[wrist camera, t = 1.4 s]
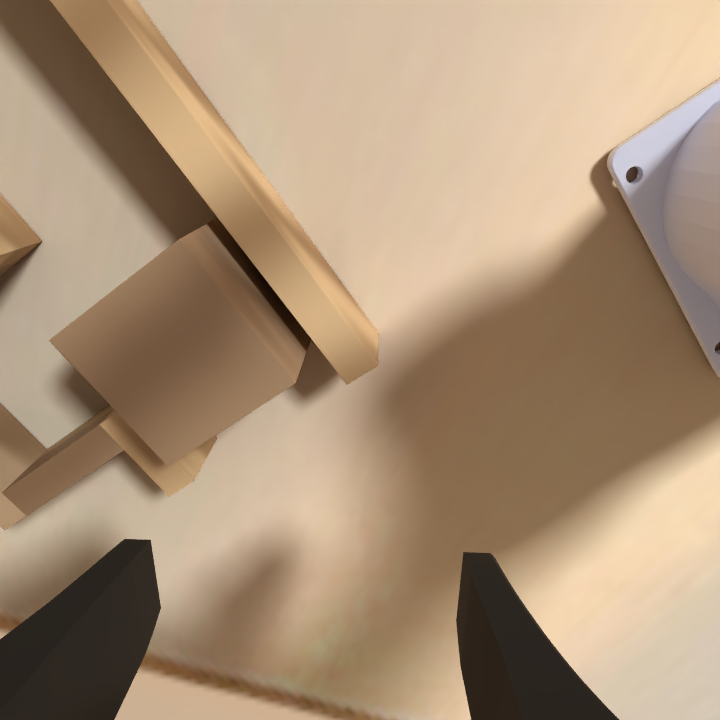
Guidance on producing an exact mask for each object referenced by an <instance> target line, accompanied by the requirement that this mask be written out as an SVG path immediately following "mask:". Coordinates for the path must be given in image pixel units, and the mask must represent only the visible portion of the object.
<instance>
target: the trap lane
mask: <svg viewBox="0 0 720 720" xmlns="http://www.w3.org/2000/svg"><path fill="white" fill-rule="evenodd" d="M50 1H51V2H52V4H53V5H54V6H55V8H56V9H57V10H58V11H59V13H60V14H61V15H62V17H63V18H64V19H65V21H66V22H67V23H68V24H69V26H70V27H71V28H72V30H73V31H74V32H75V33H76V35H77V36H78V37H79V39H80V40H81V41H82V43H83V44H84V45H85V46H86V48H87V49H88V50H89V52H90V53H91V54H92V55H93V57H94V58H95V59H96V61H97V62H98V63H99V65H100V66H101V67H102V68H103V70H104V71H105V72H106V74H107V75H108V76H109V77H110V79H111V80H112V81H113V83H114V84H115V85H116V87H117V88H118V89H119V90H120V92H121V93H122V94H123V96H124V97H125V98H126V99H127V101H128V102H129V103H130V105H131V106H132V107H133V109H134V110H135V111H136V112H137V114H138V115H139V116H140V118H141V119H142V120H143V121H144V123H145V124H146V125H147V127H148V128H149V129H150V131H151V132H152V133H153V134H154V136H155V137H156V138H157V140H158V141H159V142H160V143H161V145H162V146H163V147H164V149H165V150H166V151H167V153H168V154H169V155H170V156H171V158H172V159H173V160H174V162H175V163H176V164H177V165H178V167H179V168H180V169H181V171H182V172H183V173H184V175H185V176H186V177H187V178H188V180H189V181H190V182H191V184H192V185H193V186H194V187H195V189H196V190H197V191H198V193H199V194H200V195H201V197H202V198H203V199H204V200H205V202H206V203H207V204H208V206H209V207H210V208H211V209H212V211H213V212H214V213H215V215H216V216H217V217H218V219H219V220H220V221H221V222H222V224H223V225H224V226H225V228H226V229H227V230H228V231H229V233H230V234H231V235H232V237H233V238H234V239H235V241H236V242H237V243H238V244H239V246H240V247H241V248H242V250H243V251H244V252H245V253H246V255H247V256H248V257H249V259H250V260H251V261H252V263H253V264H254V265H255V266H256V268H257V269H258V270H259V272H260V273H261V274H262V275H263V277H264V278H265V279H266V281H267V282H268V283H269V285H270V286H271V287H272V288H273V290H274V291H275V292H276V294H277V295H278V296H279V297H280V299H281V300H282V301H283V303H284V304H285V305H286V307H287V308H288V309H289V310H290V312H291V313H292V314H293V316H294V317H295V318H296V319H297V321H298V322H299V323H300V325H301V326H302V327H303V329H304V330H305V331H306V332H307V334H308V335H309V336H310V338H311V339H312V340H313V341H314V343H315V344H316V345H317V347H318V348H319V349H320V351H321V352H322V353H323V354H324V356H325V357H326V358H327V360H328V361H329V362H330V363H331V365H332V366H333V367H334V369H335V370H336V371H337V373H338V374H339V375H340V376H341V378H342V379H343V380H344V382H345V383H346V384H349V383H351V382H352V381H354V380H355V379H357V378H359V377H360V376H362V375H363V374H365V373H367V372H368V371H370V370H371V369H373V368H375V367H376V366H378V344H379V333H378V332H377V330H376V329H375V328H374V326H373V325H372V324H371V322H370V321H369V319H368V318H367V317H366V315H365V314H364V313H363V311H362V310H361V308H360V307H359V306H358V304H357V303H356V302H355V300H354V299H353V297H352V296H351V295H350V293H349V292H348V291H347V289H346V288H345V286H344V285H343V284H342V282H341V281H340V280H339V278H338V277H337V275H336V274H335V273H334V271H333V270H332V269H331V267H330V266H329V264H328V263H327V262H326V260H325V259H324V258H323V256H322V255H321V253H320V252H319V251H318V249H317V248H316V247H315V245H314V244H313V242H312V241H311V240H310V238H309V237H308V236H307V234H306V233H305V231H304V230H303V229H302V227H301V226H300V225H299V223H298V222H297V220H296V219H295V218H294V216H293V215H292V214H291V212H290V211H289V209H288V208H287V207H286V205H285V204H284V203H283V201H282V200H281V198H280V197H279V196H278V194H277V193H276V192H275V190H274V189H273V187H272V186H271V185H270V183H269V182H268V181H267V179H266V178H265V176H264V175H263V174H262V172H261V171H260V170H259V168H258V167H257V165H256V164H255V163H254V161H253V160H252V159H251V157H250V156H249V154H248V153H247V152H246V150H245V149H244V147H243V146H242V145H241V143H240V142H239V141H238V139H237V138H236V136H235V135H234V134H233V132H232V131H231V130H230V128H229V127H228V125H227V124H226V123H225V121H224V120H223V119H222V117H221V116H220V114H219V113H218V112H217V110H216V109H215V108H214V106H213V105H212V103H211V102H210V101H209V99H208V98H207V97H206V95H205V94H204V92H203V91H202V90H201V88H200V87H199V86H198V84H197V83H196V81H195V80H194V79H193V77H192V76H191V75H190V73H189V72H188V70H187V69H186V68H185V66H184V65H183V64H182V62H181V61H180V59H179V58H178V57H177V55H176V54H175V53H174V51H173V50H172V48H171V47H170V46H169V44H168V43H167V42H166V40H165V39H164V37H163V36H162V35H161V33H160V32H159V31H158V29H157V28H156V26H155V25H154V24H153V22H152V21H151V20H150V18H149V17H148V15H147V14H146V13H145V11H144V10H143V9H142V7H141V6H140V4H139V3H138V2H137V0H50ZM41 242H42V240H41V239H40V238H39V237H38V236H37V235H36V233H35V232H34V231H33V230H32V229H31V228H30V227H29V226H28V224H27V223H26V222H25V221H24V220H23V219H22V218H21V217H20V215H19V214H18V213H17V212H16V211H15V210H14V209H13V208H12V206H11V205H10V204H9V203H8V202H7V201H6V200H5V199H4V197H3V196H2V195H1V194H0V276H1V275H3V274H4V273H5V272H6V271H7V270H9V269H10V268H11V267H12V266H13V265H15V264H16V263H17V262H18V261H19V260H20V259H22V258H23V257H24V256H25V255H26V254H28V253H29V252H30V251H31V250H32V249H33V248H35V247H36V246H37V245H38V244H39V243H41ZM216 439H217V437H216V436H214V437H212V438H210V439H209V440H207V441H206V442H204V443H203V444H201V445H200V446H198V447H197V448H195V449H194V450H192V451H190V452H189V453H187V454H186V455H184V456H183V457H181V458H180V459H178V460H177V461H175V462H173V463H172V464H170V465H169V466H167V465H166V464H165V463H164V462H163V461H162V460H161V459H160V458H159V456H158V455H157V454H156V453H155V452H154V451H153V450H152V449H151V448H150V447H149V446H148V445H147V444H146V443H145V442H144V441H143V440H142V438H141V437H140V436H139V435H138V434H137V433H136V432H135V431H134V430H133V429H132V428H131V427H130V426H129V425H128V424H127V423H126V422H125V420H124V419H123V418H122V417H121V416H120V415H119V414H118V413H117V412H116V411H115V410H114V409H113V408H112V407H111V406H110V405H109V406H108V407H106V408H105V409H104V410H102V411H101V412H99V413H98V414H97V415H95V416H94V417H92V418H91V419H89V420H88V421H87V422H85V423H84V424H82V425H81V426H80V427H78V428H77V429H75V430H74V431H73V432H71V433H70V434H68V435H67V436H65V437H64V438H63V439H61V440H60V441H58V442H57V443H56V444H54V445H53V446H51V447H50V448H49V449H46V448H45V447H44V446H43V445H42V444H41V443H40V442H39V441H38V440H37V439H36V438H35V437H34V436H33V435H32V434H31V433H30V432H29V431H28V430H27V429H26V428H25V427H24V426H23V425H22V424H21V423H20V422H19V421H18V420H17V419H16V418H15V417H14V416H13V415H12V414H11V413H10V412H9V411H8V410H7V409H6V408H5V407H4V406H3V405H2V404H1V403H0V527H1V528H2V529H3V530H6V529H8V528H9V527H11V526H12V525H14V524H15V523H17V522H18V521H20V520H21V519H23V518H24V517H26V516H27V515H28V514H30V513H31V512H33V511H34V510H36V509H37V508H39V507H40V506H42V505H43V504H45V503H46V502H48V501H49V500H51V499H52V498H54V497H55V496H57V495H58V494H60V493H61V492H63V491H64V490H66V489H67V488H69V487H70V486H72V485H73V484H74V483H76V482H77V481H79V480H80V479H82V478H83V477H85V476H86V475H88V474H89V473H91V472H92V471H94V470H95V469H97V468H98V467H100V466H101V465H103V464H104V463H106V462H107V461H109V460H110V459H112V458H113V457H115V456H116V455H117V454H119V453H120V452H122V451H123V450H124V451H125V452H126V453H127V454H128V455H129V456H130V457H131V458H132V459H133V460H134V461H135V462H136V463H137V464H138V465H139V466H140V467H141V468H142V469H143V470H144V471H145V472H146V473H147V474H148V475H149V477H150V478H151V479H152V480H153V481H154V482H155V483H156V484H157V485H158V486H159V487H160V488H161V489H162V490H163V491H164V492H165V493H166V494H167V495H168V496H171V495H172V494H174V493H176V492H177V491H179V490H180V489H182V488H184V487H185V486H187V485H188V484H190V483H192V482H193V481H194V480H195V478H196V476H197V475H198V473H199V471H200V469H201V467H202V465H203V464H204V462H205V460H206V458H207V456H208V454H209V452H210V451H211V449H212V447H213V445H214V443H215V441H216Z"/></svg>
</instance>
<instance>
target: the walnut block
mask: <svg viewBox="0 0 720 720" xmlns="http://www.w3.org/2000/svg"><path fill="white" fill-rule="evenodd" d="M310 340H311V338H310V336H309V335H308V334H307V332H306V331H305V330H304V329H303V327H302V326H301V325H300V323H299V322H298V321H297V319H296V318H295V317H294V316H293V314H292V313H291V312H290V310H289V309H288V308H287V307H286V305H285V304H284V303H283V301H282V300H281V299H280V297H279V296H278V295H277V294H276V292H275V291H274V290H273V288H272V287H271V286H270V285H269V283H268V282H267V281H266V279H265V278H264V277H263V275H262V274H261V273H260V272H259V270H258V269H257V268H256V266H255V265H254V264H253V263H252V261H251V260H250V259H249V257H248V256H247V255H246V253H245V252H244V251H243V250H242V248H241V247H240V246H239V244H238V243H237V242H236V241H235V239H234V238H233V237H232V235H231V234H230V233H229V231H228V230H227V229H226V228H225V226H224V225H223V224H222V222H221V221H220V220H219V219H218V218H217V219H215V220H213V221H211V222H209V223H207V224H206V225H204V226H202V227H200V228H198V229H197V230H195V231H193V232H191V233H189V234H187V235H186V236H184V237H182V238H180V239H179V240H177V241H176V242H175V243H173V244H172V245H171V246H170V247H168V248H167V249H166V250H164V251H163V252H162V253H161V254H159V255H158V256H157V257H155V258H154V259H153V260H152V261H150V262H149V263H148V264H146V265H145V266H144V267H143V268H141V269H140V270H139V271H137V272H136V273H135V274H134V275H132V276H131V277H130V278H128V279H127V280H126V281H125V282H123V283H122V284H121V285H119V286H118V287H117V288H116V289H114V290H113V291H112V292H110V293H109V294H108V295H107V296H105V297H104V298H103V299H102V300H100V301H99V302H98V303H96V304H95V305H94V306H93V307H91V308H90V309H89V310H87V311H86V312H85V313H84V314H82V315H81V316H80V317H78V318H77V319H76V320H75V321H73V322H72V323H71V324H69V325H68V326H67V327H66V328H64V329H63V330H62V331H60V332H59V333H58V334H57V335H55V336H54V337H53V338H51V339H50V340H49V341H50V342H51V343H52V344H53V345H54V346H55V348H56V349H57V350H58V351H59V352H60V353H61V354H62V355H63V356H64V357H65V358H66V359H67V360H68V361H69V362H70V363H71V364H72V366H73V367H74V368H75V369H76V370H77V371H78V372H79V373H80V374H81V375H82V376H83V377H84V378H85V379H86V380H87V381H88V382H89V383H90V385H91V386H92V387H93V388H94V389H95V390H96V391H97V392H98V393H99V394H100V395H101V396H102V397H103V398H104V399H105V400H106V401H107V403H108V404H109V405H110V406H111V407H112V408H113V409H114V410H115V411H116V412H117V413H118V414H119V415H120V416H121V417H122V418H123V419H124V420H125V422H126V423H127V424H128V425H129V426H130V427H131V428H132V429H133V430H134V431H135V432H136V433H137V434H138V435H139V436H140V437H141V438H142V440H143V441H144V442H145V443H146V444H147V445H148V446H149V447H150V448H151V449H152V450H153V451H154V452H155V453H156V454H157V455H158V456H159V458H160V459H161V460H162V461H163V462H164V463H165V464H166V465H167V466H169V465H170V464H172V463H173V462H175V461H177V460H178V459H180V458H181V457H183V456H184V455H186V454H187V453H189V452H190V451H192V450H194V449H195V448H197V447H198V446H200V445H201V444H203V443H204V442H206V441H207V440H209V439H210V438H212V437H214V436H215V435H217V434H218V433H220V432H221V431H223V430H224V429H226V428H227V427H229V426H230V425H232V424H234V423H235V422H237V421H238V420H240V419H241V418H243V417H244V416H246V415H247V414H249V413H251V412H252V411H254V410H255V409H257V408H258V407H260V406H261V405H263V404H264V403H266V402H267V401H269V400H271V399H272V398H274V397H275V396H277V395H278V394H280V393H281V392H283V391H284V390H286V389H288V388H289V387H291V386H292V385H294V384H295V383H296V381H297V378H298V375H299V372H300V369H301V366H302V364H303V361H304V358H305V355H306V352H307V349H308V346H309V343H310Z"/></svg>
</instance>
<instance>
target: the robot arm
mask: <svg viewBox="0 0 720 720" xmlns="http://www.w3.org/2000/svg"><path fill="white" fill-rule="evenodd" d="M634 166H635V167H636V168H637V170H638V175H637V178H636V179H635V180H634V181H633V182H630V183H629V182H628V181H627V180H626V173H627V171H628V170H629V169H630V168H631V167H634ZM607 167H608V170H609V172H610V174H611V176H612V178H613V180H614V182H615V184H616V186H617V187H618V189H619V191H620V193H621V195H622V197H623V199H624V201H625V203H626V205H627V207H628V208H629V210H630V212H631V214H632V216H633V218H634V220H635V222H636V224H637V226H638V227H639V229H640V231H641V233H642V235H643V237H644V239H645V241H646V243H647V245H648V247H649V248H650V250H651V252H652V254H653V256H654V258H655V260H656V262H657V264H658V266H659V268H660V269H661V271H662V273H663V275H664V277H665V279H666V281H667V283H668V285H669V287H670V289H671V290H672V292H673V294H674V296H675V298H676V300H677V302H678V304H679V306H680V308H681V310H682V311H683V313H684V315H685V317H686V319H687V321H688V323H689V325H690V327H691V329H692V330H693V332H694V334H695V336H696V338H697V340H698V342H699V344H700V346H701V348H702V350H703V351H704V353H705V355H706V357H707V359H708V361H709V363H710V365H711V367H712V369H713V371H714V372H715V374H716V375H717V376H718V377H719V378H720V350H717V351H715V346H716V345H717V344H718V343H719V342H720V78H719V79H718V80H716V81H715V82H713V83H712V84H710V85H709V86H707V87H706V88H704V89H703V90H701V91H700V92H698V93H697V94H695V95H694V96H692V97H691V98H689V99H688V100H686V101H685V102H683V103H682V104H680V105H679V106H677V107H675V108H674V109H672V110H671V111H669V112H668V113H666V114H665V115H663V116H662V117H660V118H659V119H657V120H656V121H654V122H653V123H651V124H650V125H648V126H647V127H645V128H644V129H642V130H641V131H639V132H638V133H636V134H635V135H633V136H632V137H630V138H629V139H627V140H626V141H624V142H623V143H621V144H619V145H618V146H616V147H615V148H614V149H613V150H612V151H611V152H610V154H609V156H608V159H607ZM160 609H161V606H160V599H159V592H158V586H157V579H156V573H155V566H154V559H153V553H152V546H151V540H136V539H124V540H123V541H122V542H120V543H119V544H118V545H117V546H116V547H114V548H113V549H112V550H111V551H110V552H108V553H107V554H106V555H105V556H104V557H103V558H101V559H100V560H99V561H98V562H97V563H96V564H94V565H93V566H92V567H91V568H90V569H89V570H87V571H86V572H85V573H84V574H83V575H81V576H80V577H79V578H78V579H77V580H75V581H74V582H73V583H72V584H71V585H69V586H68V587H67V588H66V589H65V590H63V591H62V592H61V593H60V594H59V595H57V596H56V597H55V598H54V599H52V600H51V601H50V602H49V603H47V604H46V605H45V606H44V607H42V608H41V609H40V610H38V611H37V612H36V613H34V614H33V615H32V616H30V617H29V618H28V619H27V620H25V621H24V622H23V623H21V624H20V625H19V626H17V627H16V628H15V629H13V630H12V631H11V632H10V633H8V634H7V635H6V636H4V637H3V638H1V639H0V720H114V719H115V717H116V715H117V713H118V711H119V709H120V706H121V704H122V702H123V700H124V698H125V696H126V694H127V692H128V690H129V688H130V686H131V683H132V681H133V679H134V677H135V675H136V673H137V671H138V669H139V666H140V664H141V662H142V660H143V658H144V656H145V653H146V651H147V648H148V645H149V642H150V639H151V637H152V634H153V631H154V628H155V625H156V621H157V618H158V615H159V612H160ZM456 622H457V633H458V644H459V654H460V664H461V670H462V675H463V680H464V685H465V690H466V695H467V700H468V705H469V710H470V715H471V720H619V719H618V718H617V717H616V716H615V715H614V714H613V713H612V712H611V711H610V710H609V709H608V708H607V707H606V706H605V705H604V704H603V703H602V701H601V700H600V699H599V698H598V697H597V696H596V695H595V694H594V693H593V692H592V691H591V689H590V688H589V687H588V686H587V685H586V684H585V683H584V682H583V681H582V679H581V678H580V677H579V676H578V675H577V674H576V672H575V671H574V670H573V669H572V668H571V666H570V665H569V664H568V663H567V662H566V660H565V659H564V658H563V657H562V655H561V654H560V653H559V652H558V650H557V649H556V648H555V647H554V645H553V644H552V643H551V641H550V640H549V639H548V637H547V636H546V635H545V634H544V632H543V631H542V629H541V628H540V627H539V625H538V624H537V622H536V621H535V620H534V618H533V617H532V615H531V614H530V613H529V611H528V610H527V608H526V607H525V605H524V604H523V603H522V601H521V600H520V598H519V596H518V595H517V593H516V592H515V590H514V589H513V587H512V586H511V584H510V583H509V581H508V579H507V578H506V576H505V574H504V573H503V571H502V569H501V568H500V566H499V564H498V563H497V561H496V559H495V557H494V556H493V555H492V554H491V553H469V552H463V562H462V571H461V581H460V591H459V600H458V610H457V619H456Z"/></svg>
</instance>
